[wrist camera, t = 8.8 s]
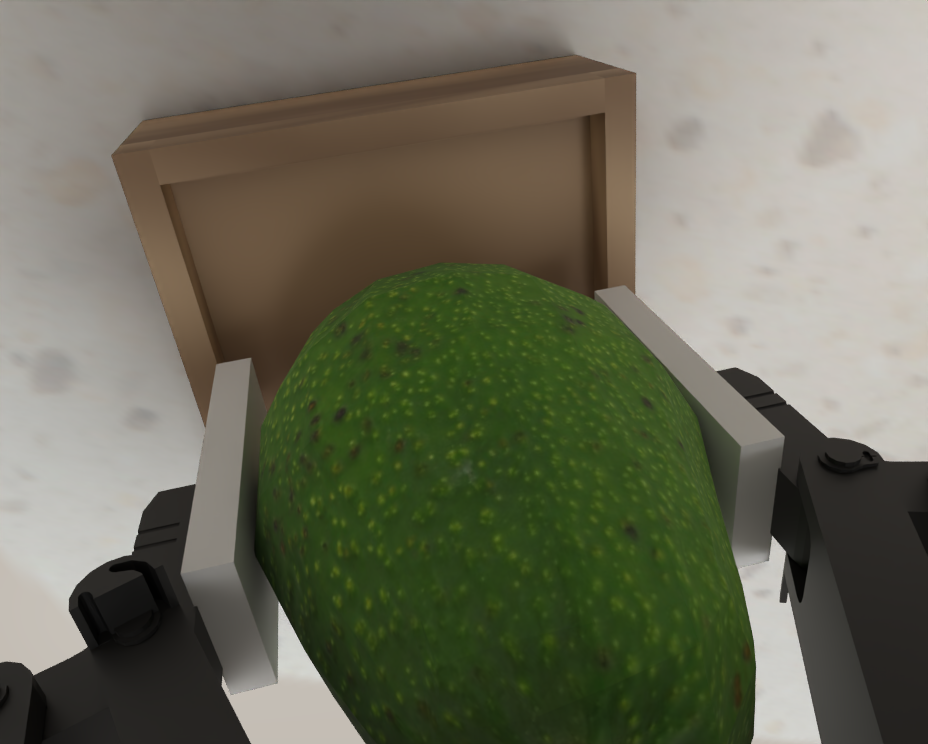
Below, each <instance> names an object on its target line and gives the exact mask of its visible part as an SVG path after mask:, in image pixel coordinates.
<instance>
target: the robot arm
mask: <svg viewBox="0 0 928 744" xmlns="http://www.w3.org/2000/svg"><path fill="white" fill-rule="evenodd" d="M594 295H595V300H596V301H598V302H600V303H602V304H604V305H605V306H606V307H607V308H608V309H609V310H610V311H611V312H612V313H613V314H614V315H615V316H616V317H617V318H619V319H620V320H621V322H622V323H623V324H624V325H625V326H626V327H627V328H628V329H629V330H630V331H631V332H632V333H633V334H634V335H635V337H636V338H637V339H638V340H639V341H640V342H641V343H642V344H643V345H644V346H645V347H646V348H647V349H648V350H649V351H650V353H651V354H652V355H653V356H654V357H655V358H656V359H657V360H658V361H659V362H660V363H661V364H662V366H663V367H664V369H665V370H666V372H667V373H668V375H669V376H670V378H671V379H672V381H673V382H674V384H675V385H676V387H677V388H678V389H679V391H680V392H681V394H682V395H683V397H684V398H685V400H686V401H687V403H688V404H689V406H690V407H691V409H692V410H693V412H694V413H695V415H696V416H697V418H698V422H699V426H700V430H701V434H702V438H703V442H704V446H705V451H706V455H707V459H708V463H709V467H710V471H711V475H712V479H713V483H714V487H715V491H716V495H717V499H718V502H719V506H720V509H721V513H722V516H723V520H724V523H725V527H726V530H727V534H728V537H729V541H730V544H731V548H732V551H733V555H734V559H735V562H736V566H737V569H738V568H742V567H746V566H750V565H754V564H758V563H762V562H766V561H769V555H770V547H771V540H772V536H773V537H774V538H775V539H776V540H777V542H778V543H779V544H780V545H781V546H782V547H783V549H784V550H785V551H786V556H785V563H784V570H783V577H782V584H781V591H780V602H781V603H786V601H787V594H788V592H789V597H790V601H791V606H792V611H793V615H794V620H795V624H796V629H797V633H798V638H799V643H800V647H801V652H802V656H803V661H804V666H805V670H806V675H807V679H808V684H809V688H810V693H811V698H812V702H813V707H814V711H815V716H816V721H817V725H818V730H819V734H820V739H821V743H822V744H928V462H889V461H884V460H883V458H882V457H881V456H880V455H879V453H878V452H876V451H874V450H873V449H871V448H870V447H868V446H866V445H864V444H861V443H858V442H855V441H852V440H847V439H840V438H827V437H826V436H825V435H824V434H823V433H822V432H820V431H819V430H818V429H817V428H816V427H815V426H813V425H812V424H811V423H810V422H809V421H808V420H807V419H805V418H804V417H803V416H802V415H801V414H800V413H799V412H797V411H796V410H795V409H794V408H793V407H792V406H791V405H789V404H788V405H787V404H786V401H785V400H784V399H783V398H781V397H780V396H779V395H778V394H777V393H776V394H774V391H773V390H772V389H771V388H770V387H769V386H768V385H767V384H765V383H764V382H763V381H762V380H761V379H760V378H759V377H757V376H754V375H752V374H750V373H747V372H745V371H743V370H740V369H738V368H736V367H735V368H730V369H726V370H721V371H715V370H714V369H713V368H712V367H711V366H710V365H709V364H708V363H707V362H705V361H704V360H703V359H702V358H701V357H700V356H699V355H698V354H697V353H696V352H695V351H694V350H693V349H692V348H691V347H690V346H689V345H688V344H686V343H685V342H684V341H683V340H682V339H681V338H680V337H679V336H678V335H677V334H676V333H675V332H674V331H673V330H672V329H671V328H670V327H669V326H667V325H666V324H665V323H664V322H663V321H662V320H661V319H660V318H659V317H658V316H657V315H656V314H655V313H654V312H653V311H652V310H651V309H650V308H648V307H647V306H646V305H645V304H644V303H643V302H642V301H641V300H640V299H639V298H638V297H637V296H636V295H635V294H634V293H633V292H632V291H630V290H629V289H628V288H627V287H626V286H625V285H623V286H618V287H613V288H607V289H602V290H597V291H594ZM266 415H267V411H266V407H265V404H264V400H263V397H262V393H261V390H260V387H259V383H258V380H257V376H256V373H255V369H254V366H253V363H252V359H251V358H246V359H241V360H236V361H231V362H226V363H221V364H216V370H215V375H214V381H213V387H212V393H211V399H210V405H209V411H208V416H207V422H206V428H205V434H204V440H203V446H202V451H201V457H200V463H199V469H198V475H197V481H196V484H194V485H189V486H184V487H180V488H175V489H170V490H166V491H161V492H158V493H157V495H156V496H155V497H154V498H153V500H152V501H151V502H150V504H149V505H148V506H147V507H146V509H145V510H144V511H143V513H142V517H141V521H140V525H139V529H138V535H137V537H136V540H135V544H134V552H132V555H129V556H123V557H120V558H117V559H115V560H112V561H109V562H106V563H105V564H103V565H101V566H100V567H98V568H97V569H95V570H93V571H92V572H90V573H89V574H88V575H87V576H86V577H85V578H84V579H83V580H82V581H81V582H80V583H78V584H77V586H76V587H75V589H74V591H73V593H72V595H71V596H70V598H69V612H70V614H71V616H72V618H73V620H74V621H75V623H76V625H77V627H78V629H79V631H80V633H81V634H82V636H83V638H84V640H85V642H86V644H87V646H88V647H87V648H86V649H85V650H84V651H82V652H80V653H78V654H76V655H74V656H73V657H71V658H69V659H67V660H65V661H63V662H61V663H59V664H57V665H55V666H52V667H50V668H48V669H46V670H44V671H42V672H40V673H38V674H36V675H34V676H33V674H32V672H31V671H30V670H29V669H28V668H26V667H25V666H24V665H23V664H22V663H15V662H2V663H0V744H251V743H250V741H249V739H248V737H247V735H246V733H245V731H244V729H243V728H242V726H241V723H240V721H239V720H238V717H237V716H236V714H235V712H234V710H233V708H232V706H231V704H230V702H229V700H228V698H227V696H226V694H225V692H224V690H223V688H222V686H221V685H222V675H223V677H224V680H225V682H226V685H227V687H228V689H229V692H230V694H231V695H233V694H237V693H241V692H245V691H249V690H253V689H257V688H261V687H265V686H269V685H273V684H277V682H278V598H277V597H276V595H275V593H274V591H273V589H272V587H271V585H270V583H269V581H268V579H267V578H266V576H265V574H264V572H263V570H262V568H261V566H260V564H259V562H258V560H257V558H256V557H255V552H254V541H255V524H256V506H257V488H258V471H259V453H260V435H261V426H262V423H263V421H264V419H265V417H266Z"/></svg>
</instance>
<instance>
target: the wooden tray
mask: <svg viewBox="0 0 928 744" xmlns="http://www.w3.org/2000/svg"><path fill="white" fill-rule="evenodd" d="M111 156H112V159H113V162H114V165H115V167H116V170H117V173H118V176H119V179H120V182H121V185H122V188H123V191H124V194H125V196H126V199H127V202H128V205H129V208H130V211H131V214H132V217H133V220H134V223H135V225H136V228H137V231H138V234H139V237H140V240H141V243H142V246H143V249H144V252H145V254H146V257H147V260H148V263H149V266H150V269H151V272H152V275H153V278H154V280H155V283H156V286H157V289H158V292H159V295H160V298H161V301H162V304H163V307H164V309H165V312H166V315H167V318H168V321H169V324H170V327H171V330H172V333H173V336H174V338H175V341H176V344H177V347H178V350H179V353H180V356H181V359H182V362H183V365H184V367H185V370H186V373H187V376H188V379H189V382H190V385H191V388H192V391H193V393H194V396H195V399H196V402H197V405H198V408H199V411H200V414H201V417H202V420H203V422H204V425H205V428H206V422H207V416H208V411H209V405H210V399H211V393H212V387H213V381H214V375H215V370H216V364H221V363H226V362H231V361H236V360H241V359H246V358H251V359H252V363H253V366H254V369H255V373H256V376H257V380H258V383H259V387H260V390H261V393H262V397H263V400H264V404H265V407H266V411H267V413H268V411H269V409H270V406H271V404H272V402H273V400H274V398H275V396H276V394H277V392H278V389H279V387H280V386H281V384H282V382H283V381H284V379H285V377H286V376H287V374H288V372H289V371H290V369H291V367H292V365H293V364H294V362H295V360H296V359H297V357H298V355H299V354H300V352H301V350H302V349H303V347H304V345H305V344H306V342H307V340H308V338H309V337H310V335H311V333H312V332H313V331H314V330H315V329H316V328H317V327H318V326H319V325H320V323H321V322H322V321H323V320H324V319H325V318H326V317H327V316H328V315H329V314H330V313H331V312H332V311H333V310H334V309H335V308H337V307H338V306H340V305H341V304H343V303H344V302H345V301H347V300H348V299H350V298H351V297H353V296H354V295H356V294H357V293H359V292H360V291H361V290H363V289H364V288H366V287H367V286H369V285H370V284H372V283H373V282H375V281H376V280H378V279H381V278H385V277H389V276H392V275H396V274H400V273H404V272H407V271H411V270H415V269H418V268H422V267H426V266H430V265H433V264H437V263H473V264H504V265H507V266H509V267H512V268H515V269H517V270H520V271H522V272H525V273H528V274H530V275H533V276H535V277H538V278H540V279H543V280H546V281H548V282H551V283H554V284H556V285H559V286H561V287H564V288H567V289H569V290H572V291H575V292H577V293H580V294H583V295H585V296H587V297H589V298H591V299H593V300H595V295H594V291H597V290H602V289H607V288H613V287H618V286H623V285H625V286H626V287H627V288H628V289H629V290H630V291H632V292H633V293H634V294H635V206H636V73H634V72H630V71H627V70H624V69H621V68H617V67H614V66H611V65H608V64H604V63H601V62H598V61H594V60H591V59H588V58H585V57H581V56H578V55H573V56H566V57H560V58H553V59H546V60H540V61H533V62H527V63H520V64H513V65H507V66H500V67H494V68H487V69H480V70H474V71H467V72H461V73H454V74H447V75H441V76H434V77H428V78H421V79H414V80H408V81H401V82H395V83H388V84H382V85H375V86H368V87H362V88H355V89H349V90H342V91H335V92H329V93H322V94H316V95H309V96H302V97H296V98H289V99H283V100H276V101H269V102H263V103H256V104H250V105H243V106H236V107H230V108H223V109H217V110H210V111H203V112H197V113H190V114H184V115H177V116H171V117H164V118H157V119H151V120H144V121H142V122H141V123H140V124H139V126H138V127H137V128H136V129H135V130H134V131H133V132H132V133H131V134H130V135H129V137H128V138H127V139H126V140H125V141H124V142H123V143H122V144H121V145H120V146H119V147H118V149H117V150H116V151H115V152H114V153H113V154H112V155H111Z"/></svg>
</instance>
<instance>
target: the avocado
mask: <svg viewBox="0 0 928 744" xmlns="http://www.w3.org/2000/svg"><path fill="white" fill-rule="evenodd" d="M254 552H255V557H256V558H257V560H258V562H259V564H260V566H261V568H262V570H263V572H264V574H265V576H266V578H267V579H268V581H269V583H270V585H271V587H272V589H273V591H274V593H275V595H276V597H277V598H278V600H279V602H280V604H281V606H282V608H283V610H284V612H285V614H286V616H287V617H288V619H289V621H290V623H291V625H292V627H293V629H294V631H295V633H296V635H297V637H298V638H299V640H300V642H301V644H302V646H303V648H304V650H305V652H306V653H307V655H308V656H309V658H310V660H311V661H312V663H313V664H314V666H315V668H316V669H317V671H318V672H319V674H320V676H321V677H322V679H323V681H324V682H325V684H326V685H327V687H328V689H329V690H330V692H331V693H332V695H333V697H334V698H335V699H336V701H337V702H338V704H339V705H340V707H341V708H342V710H343V711H344V713H345V714H346V716H347V717H348V718H349V720H350V721H351V723H352V724H353V726H354V727H355V729H356V730H357V732H358V733H359V734H360V736H361V737H362V739H363V740H364V742H365V743H366V744H751V742H752V739H753V736H754V714H755V680H756V661H755V650H754V640H753V635H752V630H751V625H750V621H749V616H748V611H747V606H746V601H745V597H744V592H743V587H742V583H741V580H740V576H739V573H738V569H737V566H736V562H735V559H734V555H733V551H732V548H731V544H730V541H729V537H728V534H727V530H726V527H725V523H724V520H723V516H722V513H721V509H720V506H719V502H718V499H717V495H716V491H715V487H714V483H713V479H712V475H711V471H710V467H709V463H708V459H707V455H706V451H705V446H704V442H703V438H702V434H701V430H700V426H699V422H698V418H697V416H696V415H695V413H694V412H693V410H692V409H691V407H690V406H689V404H688V403H687V401H686V400H685V398H684V397H683V395H682V394H681V392H680V391H679V389H678V388H677V387H676V385H675V384H674V382H673V381H672V379H671V378H670V376H669V375H668V373H667V372H666V370H665V369H664V367H663V366H662V364H661V363H660V362H659V361H658V360H657V359H656V358H655V357H654V356H653V355H652V354H651V353H650V351H649V350H648V349H647V348H646V347H645V346H644V345H643V344H642V343H641V342H640V341H639V340H638V339H637V338H636V337H635V335H634V334H633V333H632V332H631V331H630V330H629V329H628V328H627V327H626V326H625V325H624V324H623V323H622V322H621V320H620V319H619V318H617V317H616V316H615V315H614V314H613V313H612V312H611V311H610V310H609V309H608V308H607V307H606V306H605V305H604V304H602V303H600V302H598V301H596V300H593V299H591V298H589V297H587V296H585V295H583V294H580V293H577V292H575V291H572V290H569V289H567V288H564V287H561V286H559V285H556V284H554V283H551V282H548V281H546V280H543V279H540V278H538V277H535V276H533V275H530V274H528V273H525V272H522V271H520V270H517V269H515V268H512V267H509V266H507V265H504V264H473V263H437V264H433V265H430V266H426V267H422V268H418V269H415V270H411V271H407V272H404V273H400V274H396V275H392V276H389V277H385V278H381V279H378V280H376V281H375V282H373V283H372V284H370V285H369V286H367V287H366V288H364V289H363V290H361V291H360V292H359V293H357V294H356V295H354V296H353V297H351V298H350V299H348V300H347V301H345V302H344V303H343V304H341V305H340V306H338V307H337V308H335V309H334V310H333V311H332V312H331V313H330V314H329V315H328V316H327V317H326V318H325V319H324V320H323V321H322V322H321V323H320V325H319V326H318V327H317V328H316V329H315V330H314V331H313V332H312V333H311V335H310V337H309V338H308V340H307V342H306V344H305V345H304V347H303V349H302V350H301V352H300V354H299V355H298V357H297V359H296V360H295V362H294V364H293V365H292V367H291V369H290V371H289V372H288V374H287V376H286V377H285V379H284V381H283V382H282V384H281V386H280V387H279V389H278V392H277V394H276V396H275V398H274V400H273V402H272V404H271V406H270V409H269V411H268V413H267V415H266V417H265V419H264V421H263V423H262V426H261V435H260V453H259V471H258V488H257V506H256V524H255V541H254Z"/></svg>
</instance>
